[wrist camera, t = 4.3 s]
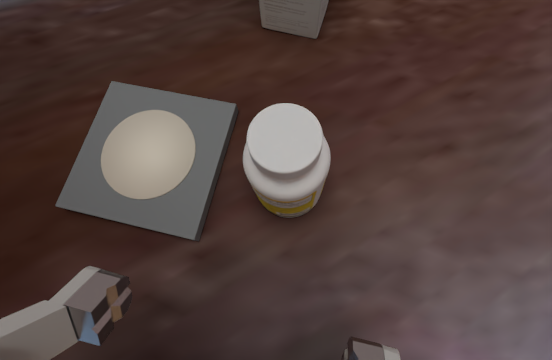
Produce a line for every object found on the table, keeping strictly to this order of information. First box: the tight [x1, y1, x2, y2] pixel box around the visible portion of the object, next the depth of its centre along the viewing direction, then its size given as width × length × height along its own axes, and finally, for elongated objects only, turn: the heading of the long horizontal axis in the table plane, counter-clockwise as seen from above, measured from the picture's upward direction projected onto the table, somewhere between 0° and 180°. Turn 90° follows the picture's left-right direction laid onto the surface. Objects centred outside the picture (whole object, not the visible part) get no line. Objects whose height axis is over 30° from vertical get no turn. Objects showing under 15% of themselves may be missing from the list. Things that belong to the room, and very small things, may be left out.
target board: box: [55, 81, 238, 241], centre depth 25 cm, size 12×12×1 cm
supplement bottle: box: [243, 103, 331, 218], centre depth 20 cm, size 5×5×10 cm
